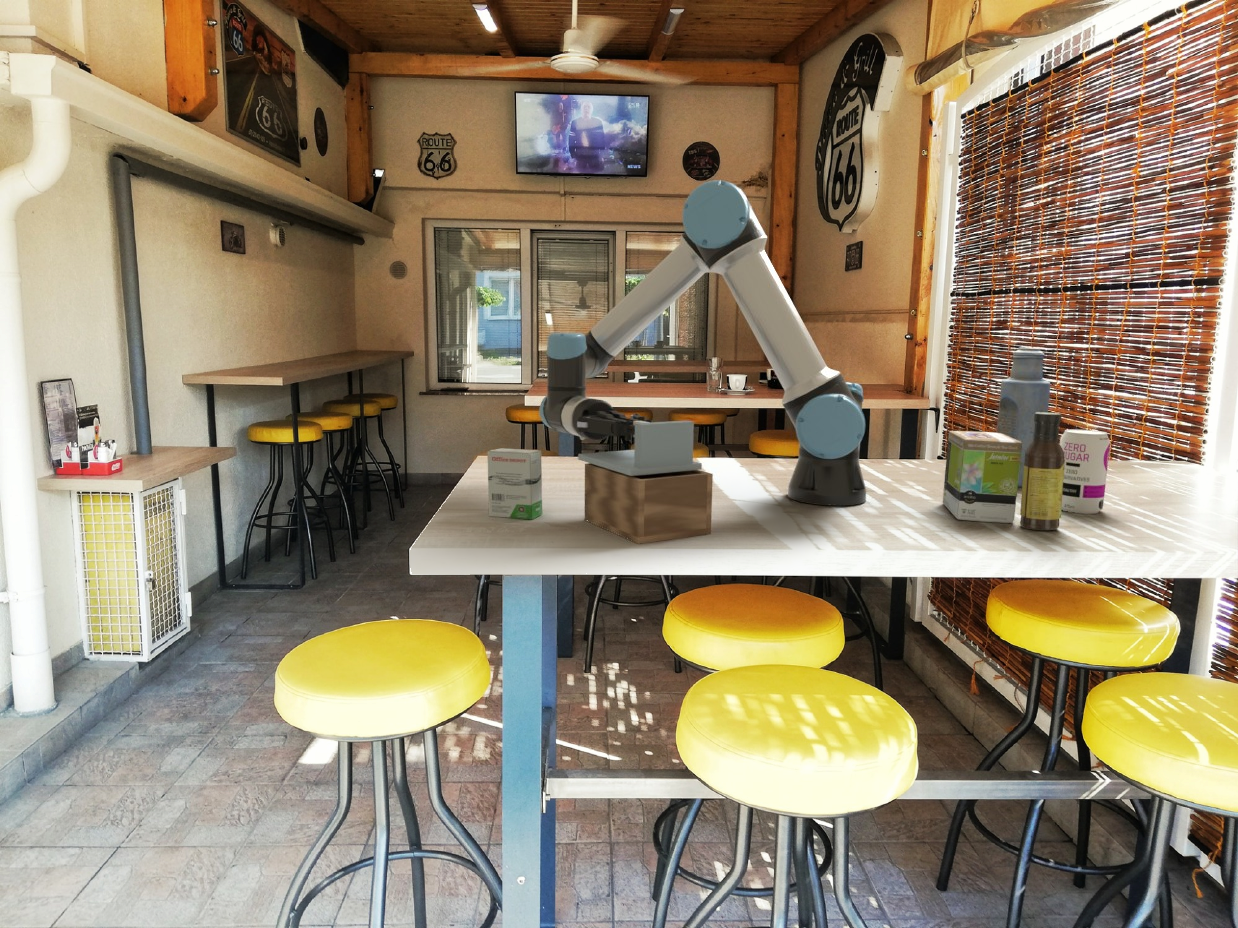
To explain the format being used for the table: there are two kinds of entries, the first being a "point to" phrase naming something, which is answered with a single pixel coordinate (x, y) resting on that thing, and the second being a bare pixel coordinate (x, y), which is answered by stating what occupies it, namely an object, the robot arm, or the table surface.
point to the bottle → (1023, 399)
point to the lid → (652, 450)
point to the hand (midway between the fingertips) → (657, 433)
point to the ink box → (515, 483)
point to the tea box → (982, 476)
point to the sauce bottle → (1043, 475)
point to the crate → (649, 503)
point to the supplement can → (1084, 470)
